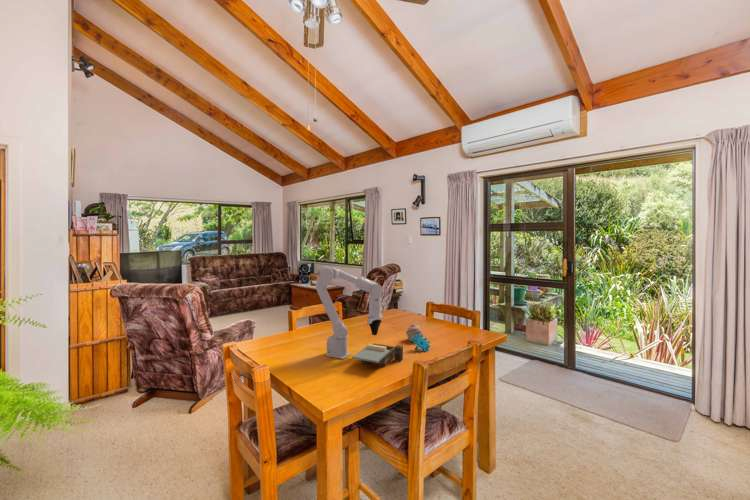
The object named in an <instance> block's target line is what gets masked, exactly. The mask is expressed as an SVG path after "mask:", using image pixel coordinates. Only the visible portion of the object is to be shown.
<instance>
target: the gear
mask: <svg viewBox="0 0 750 500" xmlns="http://www.w3.org/2000/svg"><path fill="white" fill-rule="evenodd" d="M417 336H418V338H417ZM419 336H420V334H417V335H415V336H414V338H413V340H414V342H412V343H413V345H415V348H416V349H418V350H419V351H420V352H424V353H426V352H428V351H429V350H430V347H431V345H430V343H431V342H432V341H431V340H430V339H429V340H428V338H427V337H426V336H425V337H424V334H422V335H421V337H419ZM423 337H424V338H423ZM415 338H416V339H415ZM415 341H416V342H415Z"/></svg>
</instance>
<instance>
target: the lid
mask: <svg viewBox="0 0 750 500" xmlns="http://www.w3.org/2000/svg"><path fill="white" fill-rule="evenodd" d="M372 344H373V343H371V344H370V343H368V344H367V345H366V346H365V347H364V348H362V349H361V350H359V351H358V352H357V353H355V354H354V355H353V356H351V357H352V359H354V360H359V361H361V360H364V361H369V362H375V363H378V362H379V361H380V360H382V359H383V358H384V357H385V356H386V355H387V354H388V353H389V352H390V350H386V349H387V347H385V346H378V345H372Z"/></svg>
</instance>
